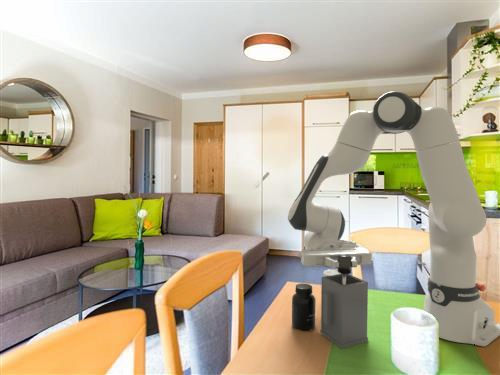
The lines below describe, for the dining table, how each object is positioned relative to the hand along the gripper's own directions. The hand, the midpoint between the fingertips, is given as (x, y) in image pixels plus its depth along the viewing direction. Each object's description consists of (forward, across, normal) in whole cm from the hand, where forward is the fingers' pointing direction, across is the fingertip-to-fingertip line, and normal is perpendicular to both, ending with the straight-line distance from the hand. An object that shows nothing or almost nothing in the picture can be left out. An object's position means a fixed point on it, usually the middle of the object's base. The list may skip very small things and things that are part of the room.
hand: (345, 264), depth 88 cm
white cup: (-25, +7, +21) cm, 33 cm away
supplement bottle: (-8, -9, +21) cm, 24 cm away
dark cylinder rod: (-1, 0, +15) cm, 15 cm away
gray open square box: (-1, 0, +20) cm, 20 cm away
